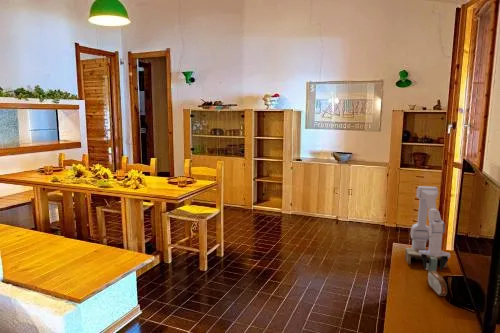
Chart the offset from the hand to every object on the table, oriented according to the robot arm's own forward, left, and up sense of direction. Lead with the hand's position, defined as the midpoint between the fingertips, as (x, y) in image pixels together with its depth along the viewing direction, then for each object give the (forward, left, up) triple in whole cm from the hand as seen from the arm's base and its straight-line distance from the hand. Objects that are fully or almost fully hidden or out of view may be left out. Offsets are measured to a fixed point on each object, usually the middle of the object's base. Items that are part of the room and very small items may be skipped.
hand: (432, 269), depth 192 cm
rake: (-5, 0, -4) cm, 6 cm away
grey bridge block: (-17, 0, -4) cm, 18 cm away
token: (-10, 0, -5) cm, 11 cm away
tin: (+15, -2, -4) cm, 16 cm away
